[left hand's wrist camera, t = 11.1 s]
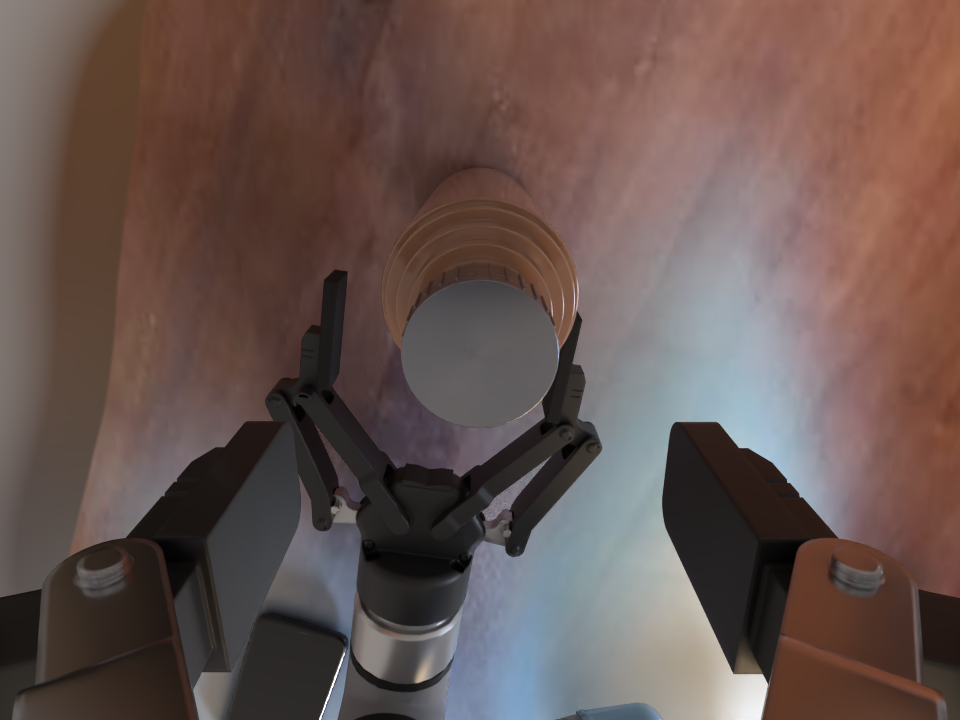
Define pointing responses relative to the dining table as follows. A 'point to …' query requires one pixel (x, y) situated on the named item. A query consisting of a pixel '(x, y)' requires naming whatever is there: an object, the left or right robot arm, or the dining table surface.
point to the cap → (479, 346)
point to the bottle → (480, 246)
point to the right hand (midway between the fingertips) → (455, 293)
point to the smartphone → (287, 670)
